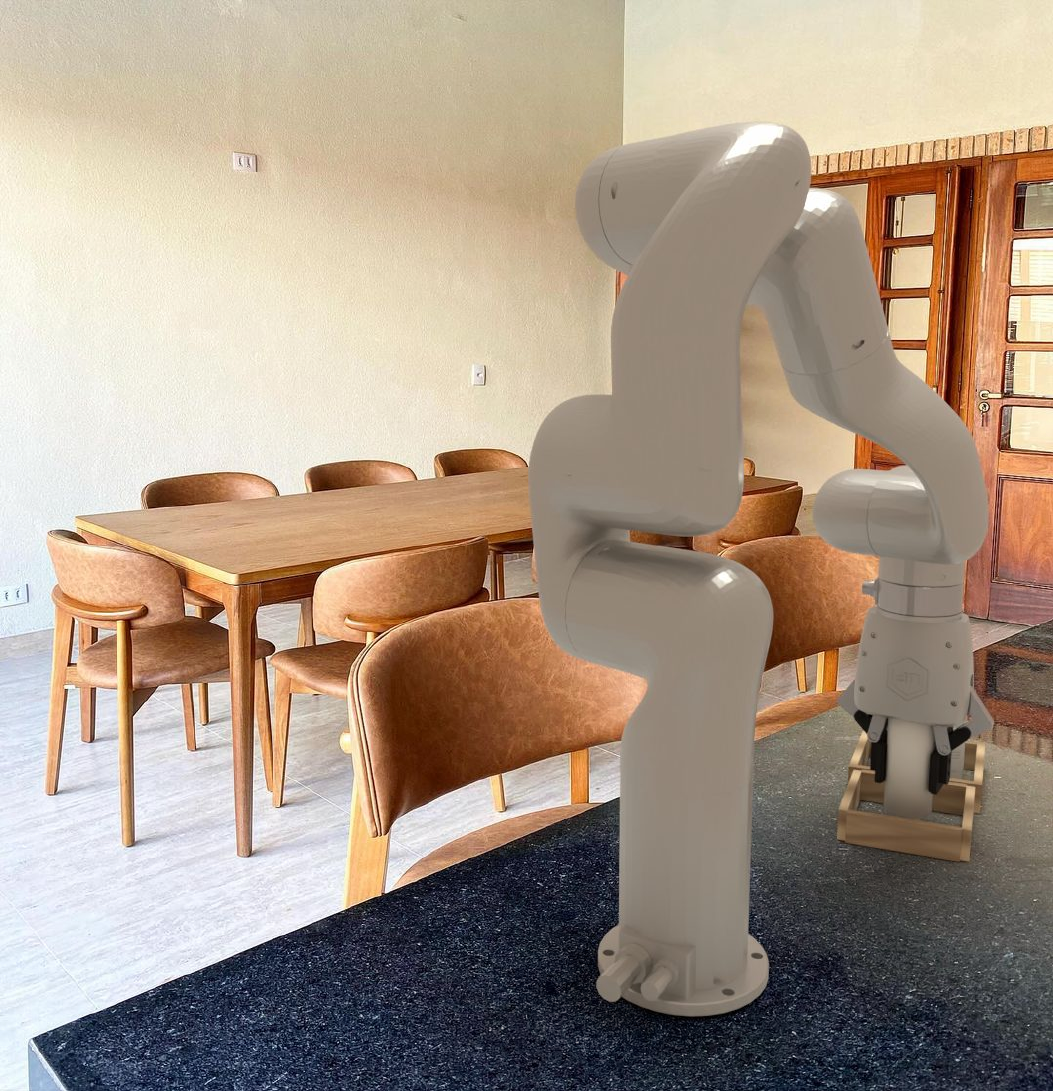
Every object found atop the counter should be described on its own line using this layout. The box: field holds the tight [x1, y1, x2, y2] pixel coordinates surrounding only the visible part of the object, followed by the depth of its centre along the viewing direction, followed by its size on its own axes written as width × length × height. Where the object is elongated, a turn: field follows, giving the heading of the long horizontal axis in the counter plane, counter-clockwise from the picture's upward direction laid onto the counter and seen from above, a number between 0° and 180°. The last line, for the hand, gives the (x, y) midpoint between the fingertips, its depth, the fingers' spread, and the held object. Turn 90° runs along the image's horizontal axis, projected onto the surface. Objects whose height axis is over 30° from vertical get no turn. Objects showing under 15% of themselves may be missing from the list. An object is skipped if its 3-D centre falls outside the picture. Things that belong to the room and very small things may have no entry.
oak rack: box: [836, 729, 986, 863], centre depth 110 cm, size 25×13×3 cm, turn 156°
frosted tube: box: [883, 718, 936, 820], centre depth 104 cm, size 5×5×12 cm
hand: (909, 781), depth 104 cm, fingers closed on frosted tube, 4 cm apart
